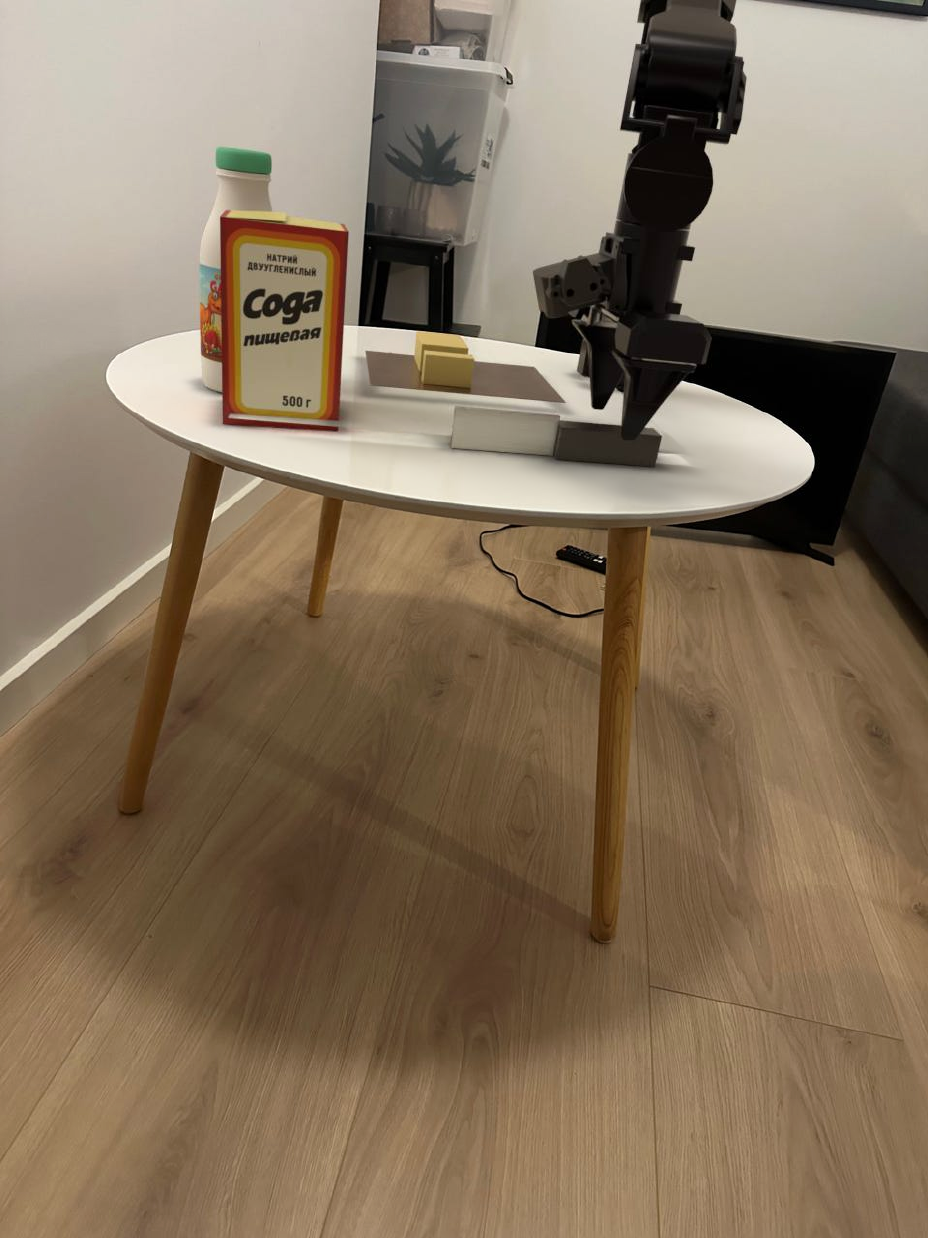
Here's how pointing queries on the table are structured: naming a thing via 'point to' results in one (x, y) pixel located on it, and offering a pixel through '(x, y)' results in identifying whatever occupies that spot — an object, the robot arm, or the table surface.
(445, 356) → the butter slice
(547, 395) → the board
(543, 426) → the knife
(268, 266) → the baking soda box
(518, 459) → the table surface
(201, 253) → the milk bottle
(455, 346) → the butter
